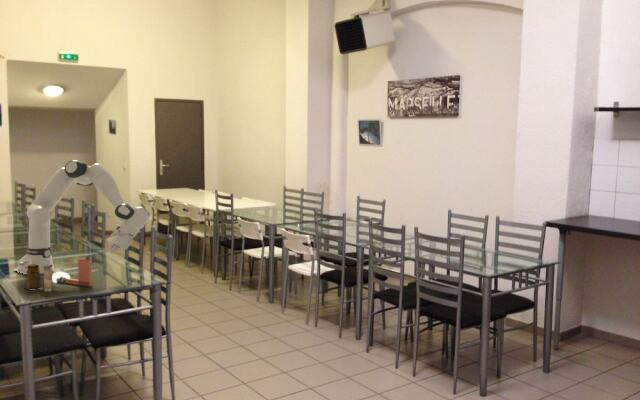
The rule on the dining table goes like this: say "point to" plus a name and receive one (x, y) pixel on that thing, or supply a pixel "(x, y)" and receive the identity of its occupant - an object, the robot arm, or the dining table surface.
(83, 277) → the red l-shaped bracket
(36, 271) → the condiment
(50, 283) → the latch post
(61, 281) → the pivot base
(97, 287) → the dining table surface
